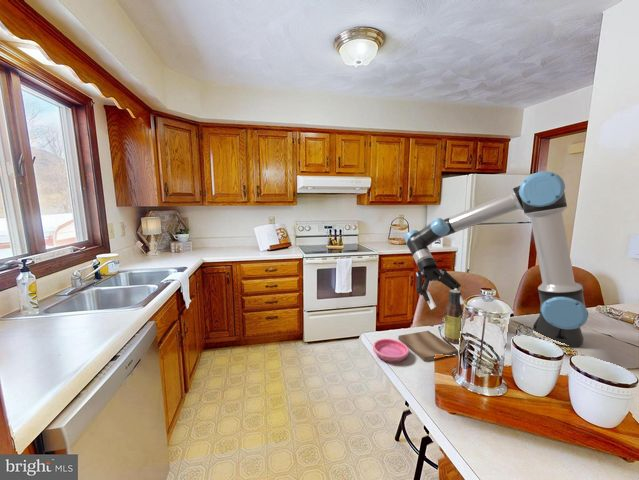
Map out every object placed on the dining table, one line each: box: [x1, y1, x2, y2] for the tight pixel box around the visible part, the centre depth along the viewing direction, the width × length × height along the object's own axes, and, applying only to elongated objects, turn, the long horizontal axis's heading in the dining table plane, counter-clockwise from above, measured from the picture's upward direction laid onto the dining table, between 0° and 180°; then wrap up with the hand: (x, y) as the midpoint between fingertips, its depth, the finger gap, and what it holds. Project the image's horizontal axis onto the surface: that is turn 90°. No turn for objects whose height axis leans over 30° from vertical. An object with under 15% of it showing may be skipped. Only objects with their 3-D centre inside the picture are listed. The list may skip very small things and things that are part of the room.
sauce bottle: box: [444, 289, 464, 344], centre depth 105 cm, size 7×6×20 cm
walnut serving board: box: [397, 330, 459, 362], centre depth 102 cm, size 14×16×2 cm
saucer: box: [372, 338, 410, 363], centre depth 97 cm, size 12×12×3 cm
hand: (448, 306), depth 107 cm, fingers open, 13 cm apart
